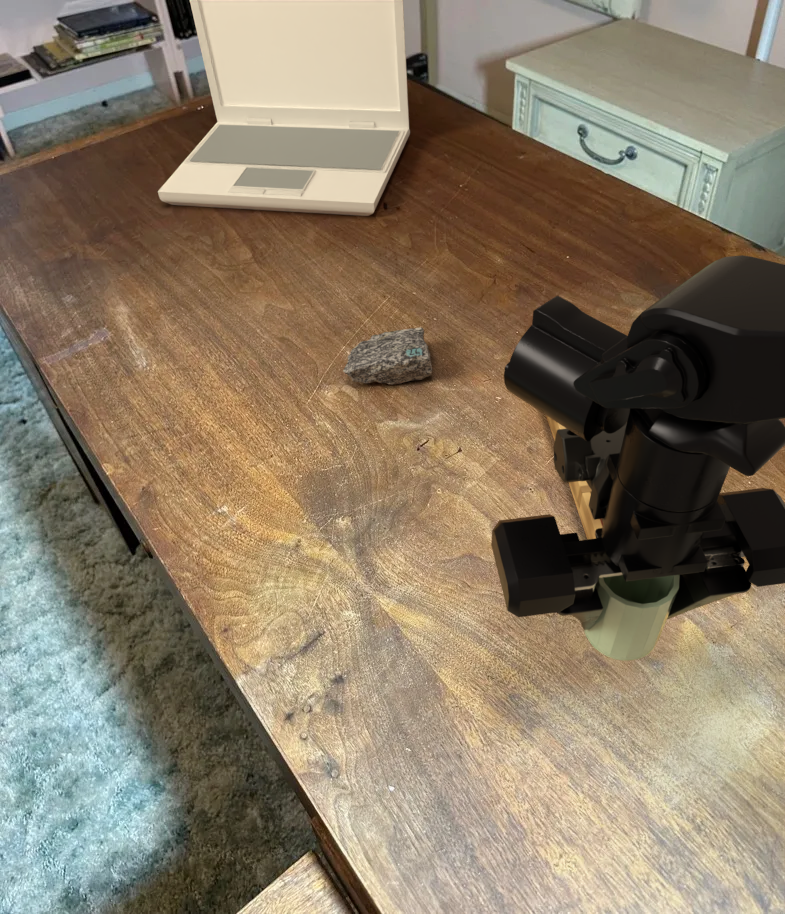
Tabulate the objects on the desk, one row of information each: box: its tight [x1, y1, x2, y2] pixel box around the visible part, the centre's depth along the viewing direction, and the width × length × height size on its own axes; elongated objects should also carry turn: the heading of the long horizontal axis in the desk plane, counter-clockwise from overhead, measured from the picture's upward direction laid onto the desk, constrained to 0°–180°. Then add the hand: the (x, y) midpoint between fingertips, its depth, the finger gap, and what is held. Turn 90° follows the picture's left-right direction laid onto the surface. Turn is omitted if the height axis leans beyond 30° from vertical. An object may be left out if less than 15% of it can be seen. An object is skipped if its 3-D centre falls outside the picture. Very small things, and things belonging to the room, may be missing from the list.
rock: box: [342, 327, 433, 385], centre depth 89 cm, size 8×10×4 cm
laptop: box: [157, 0, 411, 217], centre depth 116 cm, size 35×26×28 cm
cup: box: [583, 575, 680, 662], centre depth 53 cm, size 5×5×7 cm
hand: (623, 618), depth 54 cm, fingers closed on cup, 5 cm apart
